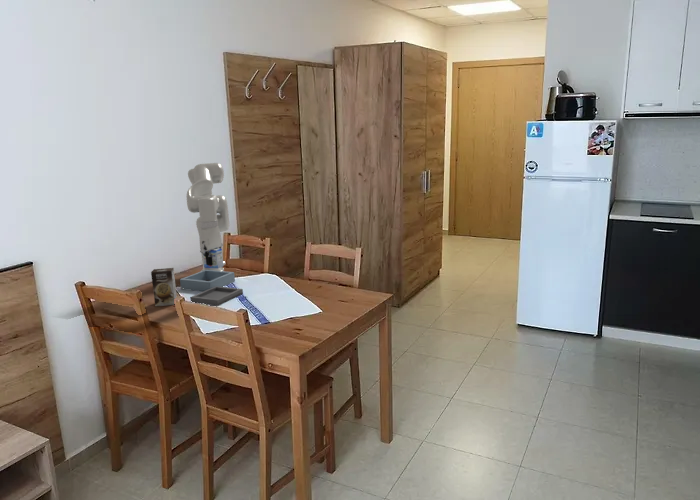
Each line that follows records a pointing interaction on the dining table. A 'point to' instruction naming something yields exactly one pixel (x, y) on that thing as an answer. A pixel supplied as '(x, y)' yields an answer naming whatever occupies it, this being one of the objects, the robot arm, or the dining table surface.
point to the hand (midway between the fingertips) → (213, 263)
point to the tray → (217, 295)
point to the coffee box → (164, 286)
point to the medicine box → (215, 259)
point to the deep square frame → (199, 279)
